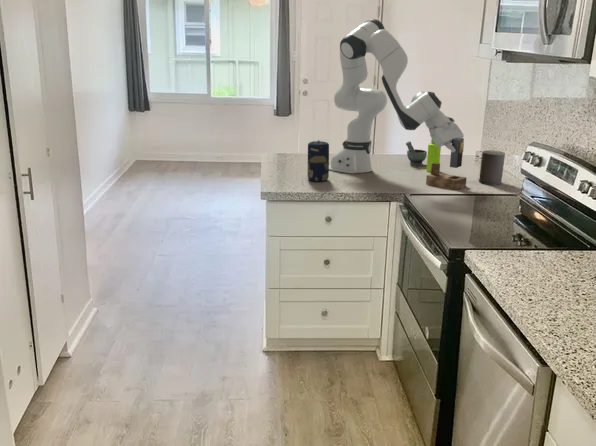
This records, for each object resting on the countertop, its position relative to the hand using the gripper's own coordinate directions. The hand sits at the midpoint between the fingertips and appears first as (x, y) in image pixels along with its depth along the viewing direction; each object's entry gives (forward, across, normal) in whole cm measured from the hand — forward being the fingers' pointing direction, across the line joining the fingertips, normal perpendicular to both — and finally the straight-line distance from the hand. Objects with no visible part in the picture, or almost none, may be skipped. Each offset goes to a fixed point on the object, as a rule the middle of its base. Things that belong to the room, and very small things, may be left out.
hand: (458, 150), depth 253 cm
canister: (-26, -30, +48) cm, 62 cm away
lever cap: (+5, 0, +5) cm, 7 cm away
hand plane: (+8, -1, +14) cm, 16 cm away
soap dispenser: (-4, +22, +27) cm, 35 cm away
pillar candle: (+18, +18, +6) cm, 25 cm away
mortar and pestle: (-14, +29, +37) cm, 49 cm away
